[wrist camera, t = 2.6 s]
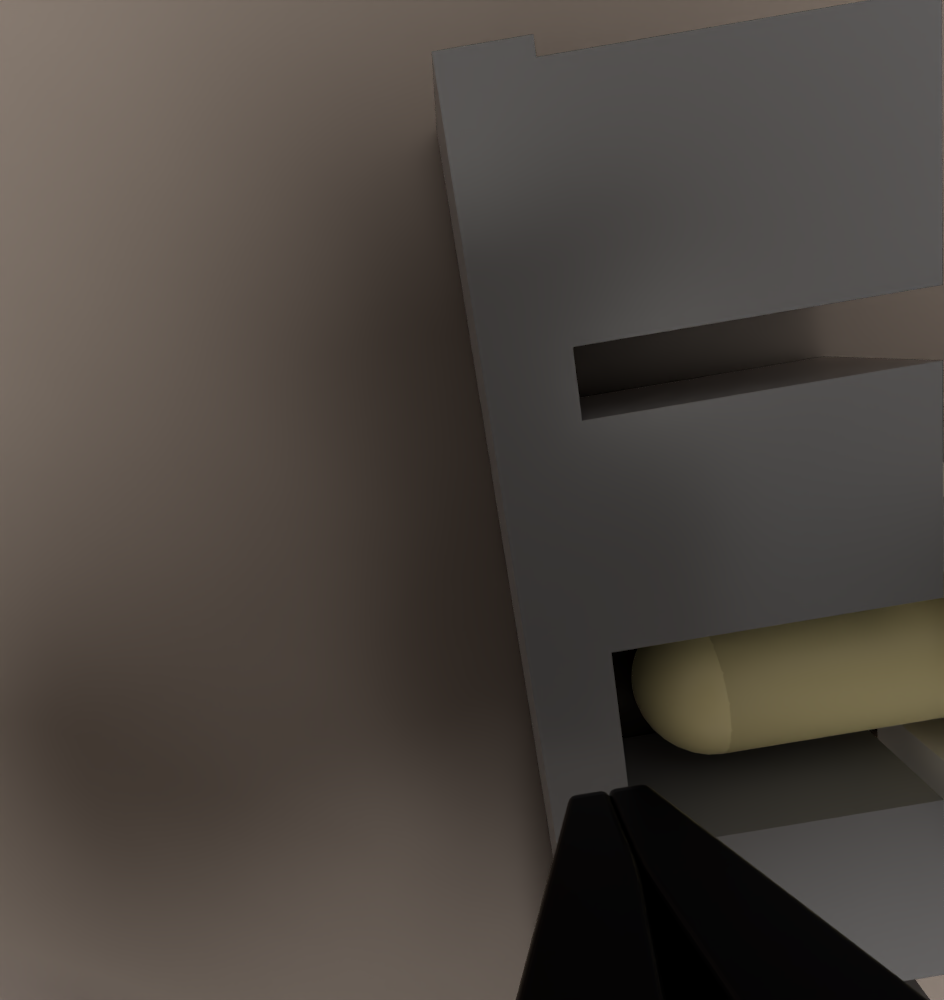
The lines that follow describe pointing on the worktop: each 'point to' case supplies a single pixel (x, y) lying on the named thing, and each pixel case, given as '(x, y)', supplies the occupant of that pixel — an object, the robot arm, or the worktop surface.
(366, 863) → the worktop surface
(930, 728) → the grey block
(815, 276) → the cord rig
